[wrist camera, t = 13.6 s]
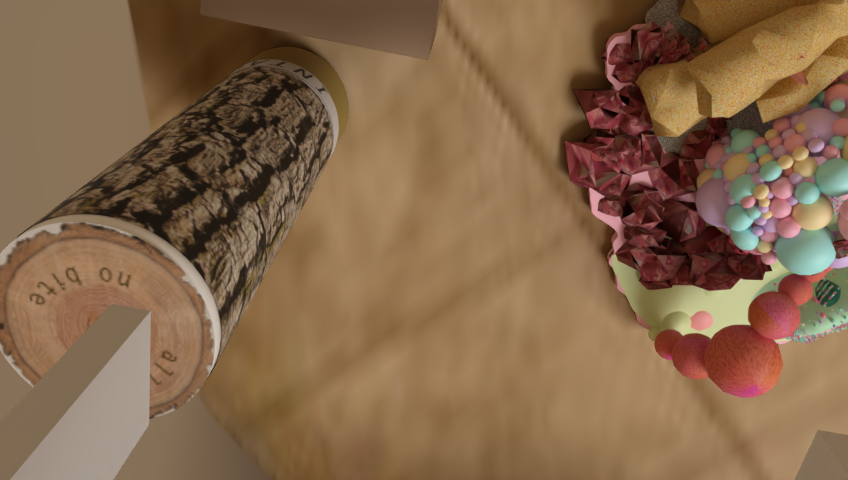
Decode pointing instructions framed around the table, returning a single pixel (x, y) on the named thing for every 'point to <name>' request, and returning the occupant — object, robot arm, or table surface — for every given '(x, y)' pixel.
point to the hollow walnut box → (342, 21)
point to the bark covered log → (178, 225)
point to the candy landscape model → (725, 179)
